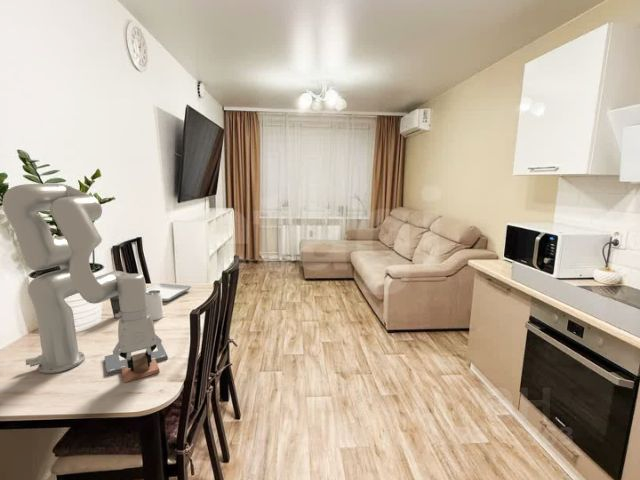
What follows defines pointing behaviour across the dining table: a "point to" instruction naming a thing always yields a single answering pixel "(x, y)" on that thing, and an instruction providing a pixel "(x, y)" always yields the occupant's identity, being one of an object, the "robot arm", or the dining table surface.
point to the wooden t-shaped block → (140, 368)
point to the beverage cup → (115, 304)
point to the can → (155, 304)
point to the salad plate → (169, 290)
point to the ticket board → (118, 362)
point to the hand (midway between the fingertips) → (140, 366)
